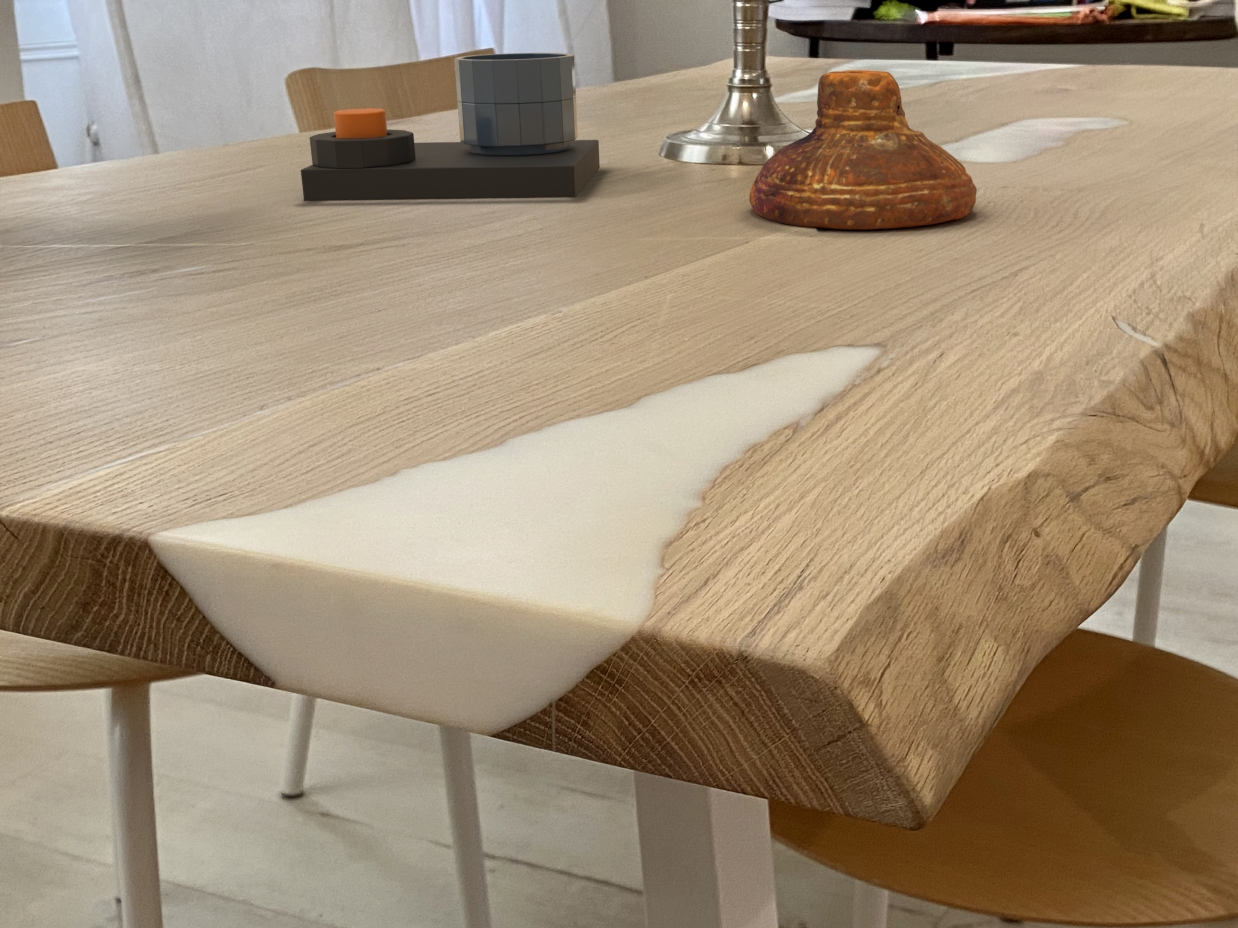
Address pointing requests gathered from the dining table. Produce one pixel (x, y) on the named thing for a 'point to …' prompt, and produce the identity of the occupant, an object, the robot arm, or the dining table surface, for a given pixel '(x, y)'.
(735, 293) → the dining table surface
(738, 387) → the dining table surface
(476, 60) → the blue-grey cup
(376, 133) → the button
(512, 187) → the scale
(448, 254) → the dining table surface
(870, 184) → the bell
